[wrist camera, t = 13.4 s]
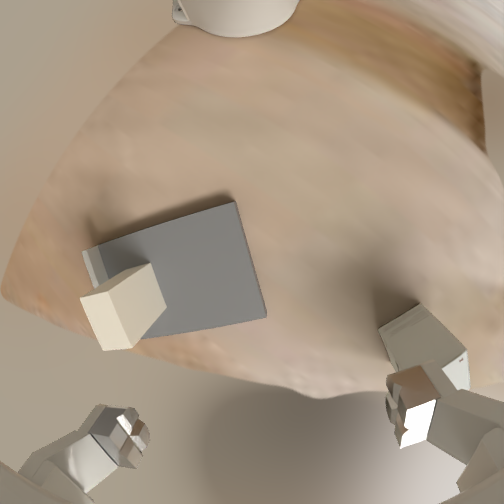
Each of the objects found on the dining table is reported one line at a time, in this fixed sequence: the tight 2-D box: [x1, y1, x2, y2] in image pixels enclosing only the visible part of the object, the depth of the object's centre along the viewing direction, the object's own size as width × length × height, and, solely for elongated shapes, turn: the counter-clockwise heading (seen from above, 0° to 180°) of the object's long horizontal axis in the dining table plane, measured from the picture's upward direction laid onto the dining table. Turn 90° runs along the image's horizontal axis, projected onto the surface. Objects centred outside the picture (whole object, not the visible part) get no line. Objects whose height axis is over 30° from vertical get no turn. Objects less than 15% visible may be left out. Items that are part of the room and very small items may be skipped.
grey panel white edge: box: [82, 201, 267, 350], centre depth 33 cm, size 14×20×4 cm
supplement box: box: [378, 303, 470, 390], centre depth 28 cm, size 7×7×13 cm
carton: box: [80, 263, 167, 351], centre depth 29 cm, size 6×4×10 cm
